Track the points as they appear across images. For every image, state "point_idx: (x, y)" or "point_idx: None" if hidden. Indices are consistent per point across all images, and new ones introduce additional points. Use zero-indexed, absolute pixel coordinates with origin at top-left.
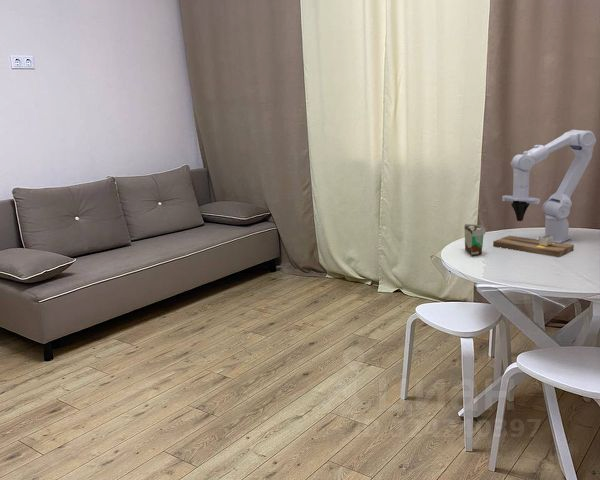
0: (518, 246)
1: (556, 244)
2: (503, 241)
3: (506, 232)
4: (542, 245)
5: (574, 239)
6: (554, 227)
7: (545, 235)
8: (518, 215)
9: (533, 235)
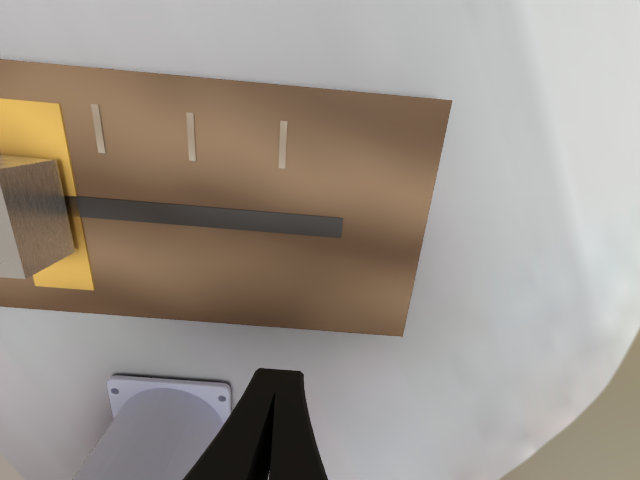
0: (203, 78)
1: None
2: (370, 145)
3: (471, 456)
4: None
5: None
6: (92, 475)
7: (13, 266)
8: (272, 439)
9: None
